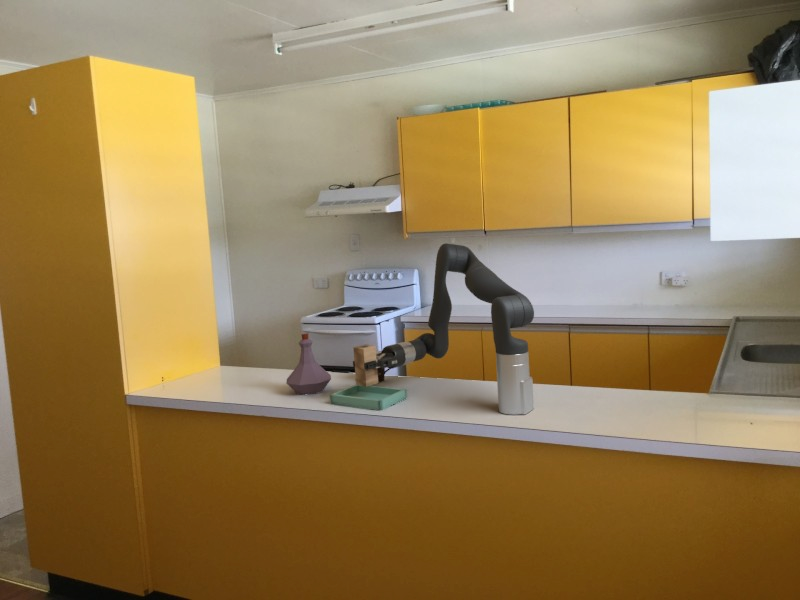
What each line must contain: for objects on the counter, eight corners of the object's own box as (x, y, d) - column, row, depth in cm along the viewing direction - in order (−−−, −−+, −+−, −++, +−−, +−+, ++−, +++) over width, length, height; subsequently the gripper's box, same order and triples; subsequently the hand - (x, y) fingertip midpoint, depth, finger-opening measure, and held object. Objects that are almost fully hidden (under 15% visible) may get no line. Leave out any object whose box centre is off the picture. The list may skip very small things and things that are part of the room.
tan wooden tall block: (378, 383, 214) (375, 345, 213) (366, 386, 211) (363, 348, 210) (368, 380, 218) (365, 344, 217) (356, 384, 215) (353, 347, 213)
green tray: (407, 398, 215) (406, 389, 215) (380, 410, 204) (380, 401, 203) (357, 392, 226) (357, 384, 226) (330, 403, 215) (329, 394, 215)
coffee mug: (358, 383, 240) (356, 355, 239) (371, 377, 248) (368, 350, 246) (387, 384, 235) (385, 356, 233) (398, 378, 242) (397, 351, 241)
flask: (340, 384, 239) (335, 329, 237) (323, 397, 224) (318, 338, 221) (297, 385, 243) (292, 330, 241) (278, 397, 228) (272, 339, 225)
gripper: (383, 341, 228) (344, 351, 217) (413, 345, 218) (373, 356, 206) (385, 363, 229) (345, 374, 218) (414, 368, 219) (375, 380, 207)
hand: (359, 365), depth 212 cm, fingers closed on tan wooden tall block, 5 cm apart
